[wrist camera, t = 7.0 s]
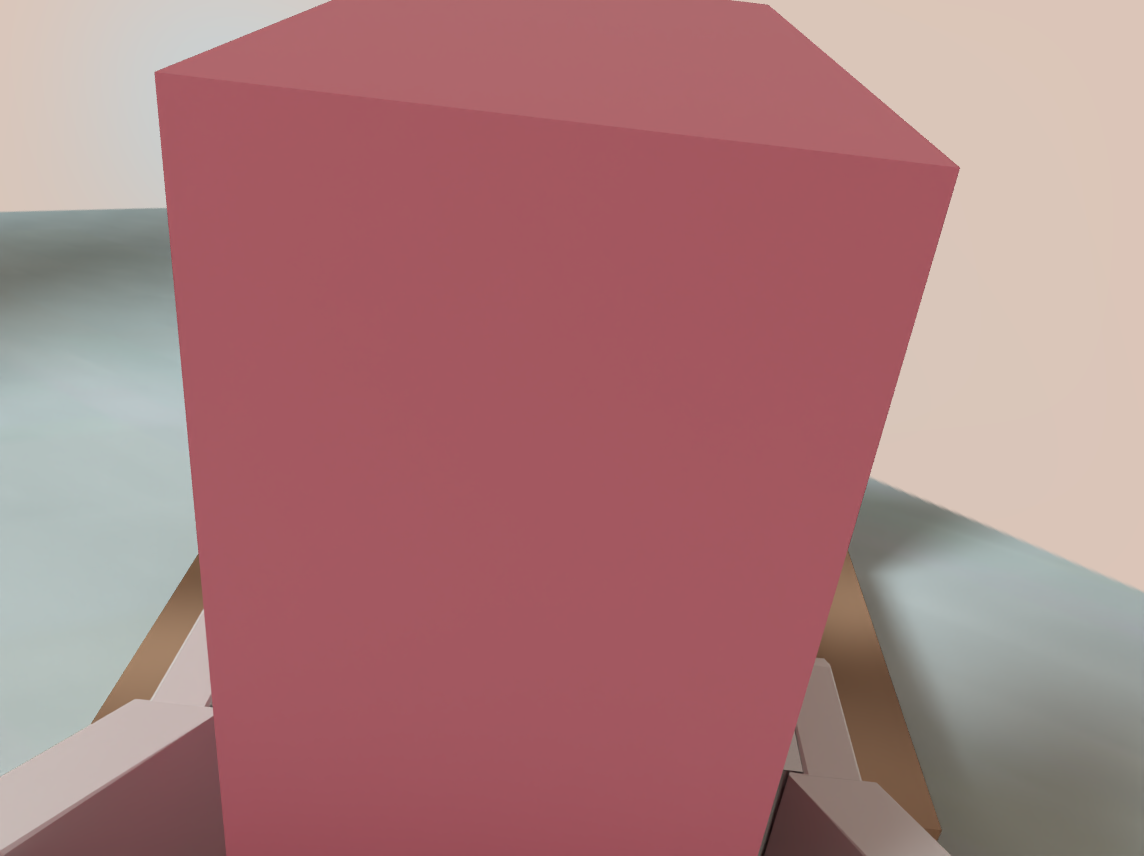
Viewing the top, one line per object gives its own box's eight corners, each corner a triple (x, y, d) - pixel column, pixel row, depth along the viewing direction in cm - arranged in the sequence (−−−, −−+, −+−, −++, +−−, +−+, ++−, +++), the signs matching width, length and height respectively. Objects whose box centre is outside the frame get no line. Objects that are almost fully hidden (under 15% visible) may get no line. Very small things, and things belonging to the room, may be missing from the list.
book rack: (923, 872, 19) (1029, 622, 16) (92, 780, 19) (43, 509, 16) (829, 561, 28) (886, 362, 25) (259, 496, 28) (248, 287, 25)
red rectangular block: (567, 1502, 11) (960, 168, 4) (282, 1472, 11) (155, 72, 4) (585, 984, 16) (768, 5, 9) (392, 962, 16) (424, -37, 9)
